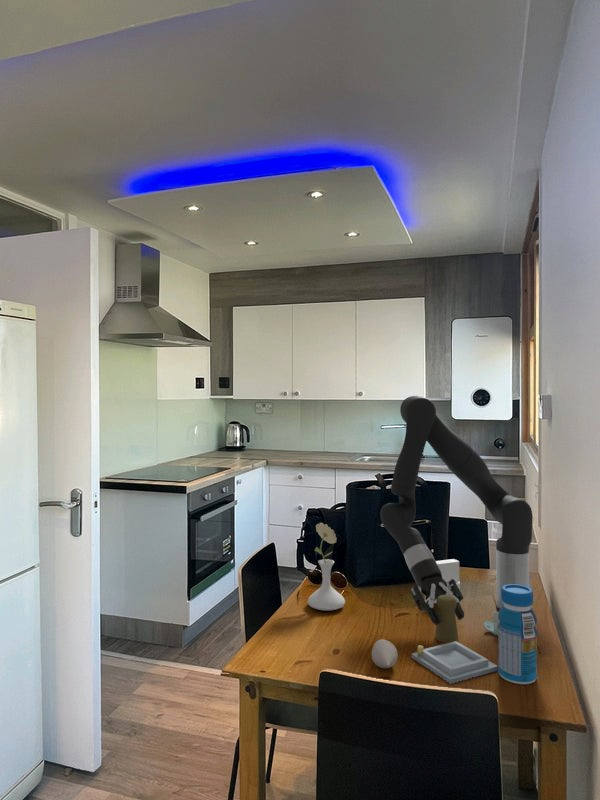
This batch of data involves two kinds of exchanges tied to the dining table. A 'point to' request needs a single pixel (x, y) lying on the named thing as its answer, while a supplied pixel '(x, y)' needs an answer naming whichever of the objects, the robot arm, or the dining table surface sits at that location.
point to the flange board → (453, 661)
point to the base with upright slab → (449, 571)
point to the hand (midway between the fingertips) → (450, 620)
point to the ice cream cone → (384, 654)
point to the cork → (446, 619)
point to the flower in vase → (326, 577)
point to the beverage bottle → (517, 635)
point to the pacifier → (493, 623)
